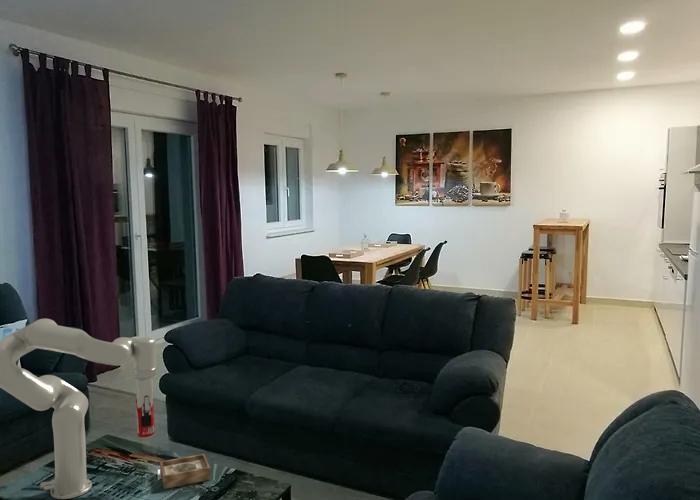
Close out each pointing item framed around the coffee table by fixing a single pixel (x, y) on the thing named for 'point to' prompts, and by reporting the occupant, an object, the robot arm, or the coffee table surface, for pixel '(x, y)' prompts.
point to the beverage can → (148, 430)
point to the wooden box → (184, 471)
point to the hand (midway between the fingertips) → (145, 422)
